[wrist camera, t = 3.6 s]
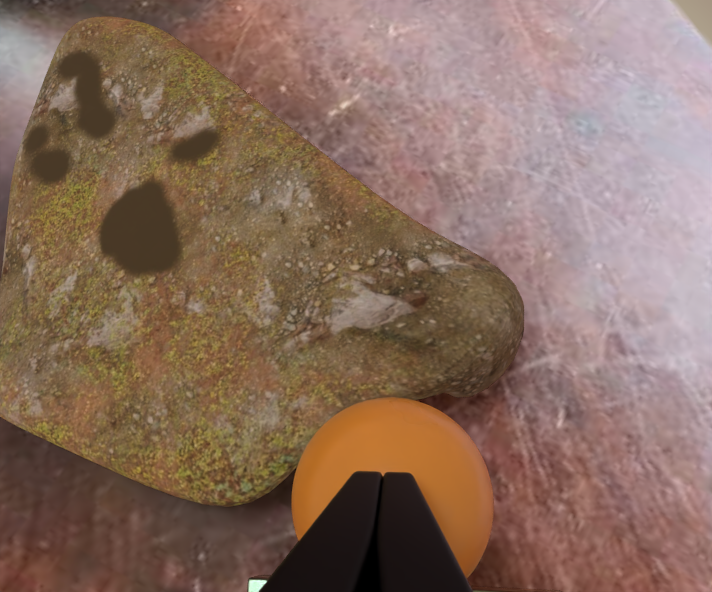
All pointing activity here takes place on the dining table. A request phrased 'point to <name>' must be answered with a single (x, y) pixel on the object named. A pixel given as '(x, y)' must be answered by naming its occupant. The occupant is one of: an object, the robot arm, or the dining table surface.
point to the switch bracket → (260, 580)
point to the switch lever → (401, 468)
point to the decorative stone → (214, 278)
